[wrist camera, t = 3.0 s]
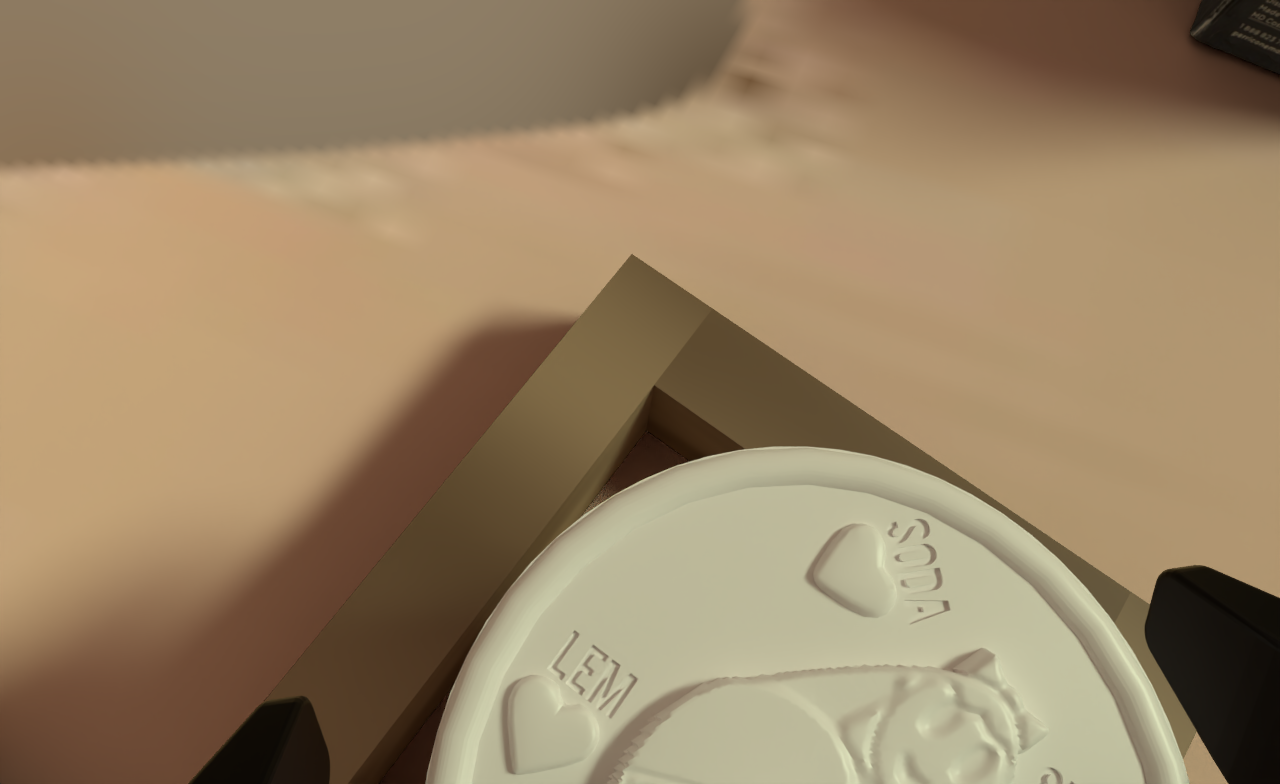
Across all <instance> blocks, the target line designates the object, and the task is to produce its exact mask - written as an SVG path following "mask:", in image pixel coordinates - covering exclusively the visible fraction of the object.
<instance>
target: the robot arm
mask: <svg viewBox="0 0 1280 784" xmlns="http://www.w3.org/2000/svg"><path fill="white" fill-rule="evenodd" d="M1144 632H1145V639H1146V642H1147V645H1148V648H1149V650H1150V652H1151V654H1152V655H1153V657H1154V659H1155V661H1156V662H1157V664H1158V666H1159V667H1160V669H1161V671H1162V673H1163V674H1164V676H1165V678H1166V679H1167V681H1168V683H1169V685H1170V686H1171V688H1172V690H1173V691H1174V693H1175V695H1176V697H1177V698H1178V700H1179V702H1180V703H1181V705H1182V707H1183V708H1184V710H1185V712H1186V714H1187V715H1188V717H1189V719H1190V720H1191V722H1192V724H1193V726H1194V727H1195V729H1196V731H1197V732H1198V734H1199V736H1200V738H1201V739H1202V741H1203V743H1204V744H1205V746H1206V748H1207V750H1208V751H1209V753H1210V755H1211V756H1212V758H1213V760H1214V761H1215V763H1216V765H1217V766H1218V768H1219V769H1220V771H1221V773H1222V774H1223V776H1224V777H1225V779H1226V781H1227V782H1228V784H1280V598H1278V597H1276V596H1274V595H1271V594H1269V593H1267V592H1265V591H1262V590H1260V589H1258V588H1255V587H1253V586H1251V585H1248V584H1246V583H1244V582H1242V581H1239V580H1237V579H1235V578H1232V577H1230V576H1228V575H1225V574H1223V573H1221V572H1218V571H1216V570H1214V569H1212V568H1209V567H1206V566H1202V565H1193V566H1186V567H1179V568H1172V569H1167V570H1165V571H1163V572H1162V573H1161V574H1160V575H1159V577H1158V579H1157V581H1156V585H1155V588H1154V592H1153V596H1152V599H1151V603H1150V607H1149V610H1148V614H1147V618H1146V621H1145V627H1144ZM329 781H330V757H329V752H328V748H327V745H326V742H325V740H324V737H323V734H322V731H321V728H320V725H319V723H318V720H317V717H316V714H315V711H314V708H313V706H312V703H311V702H310V700H309V699H308V698H307V697H305V696H301V695H299V696H292V697H285V698H278V699H272V700H268V701H265V702H263V703H262V704H261V705H259V706H258V707H257V708H256V709H255V710H254V712H253V713H252V714H251V715H250V716H249V717H248V718H247V719H246V720H245V722H244V723H243V724H242V725H241V726H240V727H239V728H238V729H237V730H236V731H235V733H234V734H233V735H232V736H231V737H230V738H229V739H228V740H227V741H226V743H225V744H224V745H223V746H222V747H221V748H220V749H219V750H218V751H217V752H216V754H215V755H214V756H213V757H212V758H211V759H210V760H209V761H208V762H207V764H206V765H205V766H204V767H203V768H202V769H201V770H200V771H199V772H198V773H197V775H196V776H195V777H194V778H193V779H192V780H191V781H190V782H189V783H188V784H329Z"/></svg>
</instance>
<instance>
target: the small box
mask: <svg viewBox="0 0 1280 784" xmlns="http://www.w3.org/2000/svg"><path fill="white" fill-rule="evenodd" d="M1190 34H1191V35H1192V36H1193V37H1194V38H1195V39H1196V40H1198V41H1200V42H1202V43H1205V44H1207V45H1210V46H1211V47H1213V48H1216V49H1220V50H1222V51H1224V52H1226V53H1231V54H1233V55H1235V56H1237V57H1239V58H1242V59H1244V60H1247V61H1249V62H1252V63H1254V64H1256V65H1258V66H1260V67H1263V68H1265V69H1268V70H1271V71H1273V72H1275V73H1278V74H1280V0H1202V2H1201V4H1200V7H1199V10H1198V13H1197V16H1196V19H1195V22H1194V24H1193V26H1192V28H1191V30H1190Z"/></svg>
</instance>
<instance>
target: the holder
mask: <svg viewBox="0 0 1280 784" xmlns="http://www.w3.org/2000/svg"><path fill="white" fill-rule="evenodd" d="M646 430H647V431H648V432H650V433H651V434H652V435H654V436H655V437H657V438H658V439H659V440H661V441H662V442H664V443H665V444H666V445H668V446H669V447H671V448H672V449H673V450H675V451H676V452H678V453H679V454H680V455H682V456H683V457H685V458H686V459H687V460H689V461H694V460H697V459H700V458H704V457H707V456H712V455H717V454H722V453H727V452H732V451H737V450H744V449H754V448H764V447H818V448H828V449H839V450H845V451H850V452H856V453H861V454H866V455H871V456H876V457H879V458H883V459H886V460H890V461H893V462H896V463H900V464H903V465H907V466H910V467H912V468H915V469H917V470H920V471H922V472H925V473H927V474H930V475H932V476H935V477H938V478H940V479H942V480H944V481H946V482H948V483H950V484H952V485H954V486H956V487H958V488H960V489H962V490H964V491H966V492H968V493H970V494H972V495H974V496H975V497H977V498H978V499H980V500H982V501H983V502H985V503H987V504H988V505H990V506H991V507H993V508H995V509H996V510H998V511H1000V512H1001V513H1003V514H1004V515H1005V516H1007V517H1008V518H1009V519H1011V520H1012V521H1013V522H1015V523H1016V524H1018V525H1019V526H1020V527H1022V528H1023V529H1024V530H1026V531H1027V532H1028V533H1030V534H1031V535H1032V536H1033V537H1034V538H1036V539H1037V540H1038V541H1039V542H1040V543H1041V544H1042V545H1044V546H1045V547H1046V548H1047V549H1048V550H1049V551H1050V552H1051V553H1053V554H1054V555H1055V556H1056V557H1057V558H1058V559H1059V560H1060V561H1061V562H1062V563H1063V564H1064V565H1065V566H1066V567H1067V568H1068V569H1069V570H1070V571H1071V572H1072V573H1073V574H1074V575H1075V576H1076V577H1077V578H1078V580H1079V581H1080V582H1081V583H1082V584H1083V585H1084V586H1085V587H1086V588H1087V589H1088V591H1089V592H1090V593H1091V594H1092V596H1093V597H1094V598H1095V599H1096V600H1097V602H1098V603H1099V604H1100V605H1101V607H1102V608H1103V609H1104V610H1105V612H1106V613H1107V614H1108V615H1109V616H1110V618H1111V619H1112V621H1113V622H1114V624H1115V625H1116V627H1117V628H1118V630H1119V631H1120V633H1121V634H1122V636H1123V637H1124V638H1125V640H1126V641H1127V643H1128V644H1129V646H1130V647H1131V649H1132V650H1133V652H1134V654H1135V656H1136V657H1137V659H1138V661H1139V663H1140V665H1141V666H1142V668H1143V670H1144V672H1145V673H1146V675H1147V677H1148V679H1149V680H1150V682H1151V684H1152V686H1153V688H1154V690H1155V692H1156V695H1157V697H1158V699H1159V701H1160V703H1161V705H1162V708H1163V710H1164V712H1165V714H1166V716H1167V718H1168V720H1169V723H1170V726H1171V728H1172V731H1173V734H1174V737H1175V739H1176V742H1177V745H1178V747H1179V750H1180V753H1181V756H1182V758H1183V759H1184V757H1185V755H1186V752H1187V750H1188V748H1189V746H1190V744H1191V742H1192V740H1193V738H1194V736H1195V733H1196V729H1195V727H1194V726H1193V724H1192V722H1191V720H1190V719H1189V717H1188V715H1187V714H1186V712H1185V710H1184V708H1183V707H1182V705H1181V703H1180V702H1179V700H1178V698H1177V697H1176V695H1175V693H1174V691H1173V690H1172V688H1171V686H1170V685H1169V683H1168V681H1167V679H1166V678H1165V676H1164V674H1163V673H1162V671H1161V669H1160V667H1159V666H1158V664H1157V662H1156V661H1155V659H1154V657H1153V655H1152V654H1151V652H1150V650H1149V648H1148V645H1147V642H1146V639H1145V632H1144V627H1145V621H1146V618H1147V614H1148V610H1149V607H1150V605H1149V604H1148V603H1146V602H1145V601H1144V600H1142V599H1141V598H1139V597H1138V596H1136V595H1135V594H1133V593H1132V592H1130V591H1129V590H1127V589H1126V588H1124V587H1123V586H1121V585H1120V584H1118V583H1117V582H1115V581H1114V580H1112V579H1111V578H1110V577H1108V576H1107V575H1105V574H1104V573H1102V572H1101V571H1099V570H1098V569H1096V568H1095V567H1093V566H1092V565H1090V564H1089V563H1087V562H1086V561H1084V560H1083V559H1081V558H1080V557H1079V556H1077V555H1076V554H1074V553H1073V552H1071V551H1070V550H1068V549H1067V548H1065V547H1064V546H1062V545H1061V544H1059V543H1058V542H1056V541H1055V540H1053V539H1052V538H1050V537H1049V536H1048V535H1046V534H1045V533H1043V532H1042V531H1040V530H1039V529H1037V528H1036V527H1034V526H1033V525H1031V524H1030V523H1028V522H1027V521H1025V520H1024V519H1022V518H1021V517H1019V516H1018V515H1017V514H1015V513H1014V512H1012V511H1011V510H1009V509H1008V508H1006V507H1005V506H1003V505H1002V504H1000V503H999V502H997V501H996V500H994V499H993V498H991V497H990V496H988V495H987V494H985V493H984V492H983V491H981V490H980V489H978V488H977V487H975V486H974V485H972V484H971V483H969V482H968V481H966V480H965V479H963V478H962V477H960V476H959V475H957V474H956V473H954V472H953V471H952V470H950V469H949V468H947V467H946V466H944V465H943V464H941V463H940V462H938V461H937V460H935V459H934V458H932V457H931V456H929V455H928V454H926V453H925V452H923V451H922V450H921V449H919V448H918V447H916V446H915V445H913V444H912V443H910V442H909V441H907V440H906V439H904V438H903V437H901V436H900V435H898V434H897V433H895V432H894V431H892V430H891V429H890V428H888V427H887V426H885V425H884V424H882V423H881V422H879V421H878V420H876V419H875V418H873V417H872V416H870V415H869V414H867V413H866V412H864V411H863V410H861V409H860V408H858V407H857V406H856V405H854V404H853V403H851V402H850V401H848V400H847V399H845V398H844V397H842V396H841V395H839V394H838V393H836V392H835V391H833V390H832V389H830V388H829V387H827V386H826V385H825V384H823V383H822V382H820V381H819V380H817V379H816V378H814V377H813V376H811V375H810V374H808V373H807V372H805V371H804V370H802V369H801V368H799V367H798V366H796V365H795V364H794V363H792V362H791V361H789V360H788V359H786V358H785V357H783V356H782V355H780V354H779V353H777V352H776V351H774V350H773V349H771V348H770V347H768V346H767V345H765V344H764V343H763V342H761V341H760V340H758V339H757V338H755V337H754V336H752V335H751V334H749V333H748V332H746V331H745V330H743V329H742V328H740V327H739V326H737V325H736V324H734V323H733V322H731V321H730V320H729V319H727V318H726V317H724V316H723V315H721V314H720V313H718V312H717V311H715V310H714V309H712V308H711V307H709V306H708V305H706V304H705V303H703V302H702V301H700V300H699V299H698V298H696V297H695V296H693V295H692V294H690V293H689V292H687V291H686V290H684V289H683V288H681V287H680V286H678V285H677V284H675V283H674V282H672V281H671V280H669V279H668V278H667V277H665V276H664V275H662V274H661V273H659V272H658V271H656V270H655V269H653V268H652V267H650V266H649V265H647V264H646V263H644V262H643V261H641V260H640V259H638V258H637V257H635V256H634V255H633V254H631V256H630V257H629V258H628V259H627V261H626V262H625V263H624V264H623V265H622V267H621V268H620V269H619V270H618V271H617V273H616V274H615V275H614V276H613V278H612V279H611V280H610V281H609V282H608V284H607V285H606V286H605V287H604V288H603V290H602V291H601V292H600V293H599V295H598V296H597V297H596V298H595V299H594V301H593V302H592V303H591V304H590V306H589V307H588V308H587V309H586V310H585V312H584V313H583V314H582V315H581V316H580V318H579V319H578V320H577V321H576V323H575V324H574V325H573V326H572V327H571V329H570V330H569V331H568V332H567V333H566V335H565V336H564V337H563V338H562V340H561V341H560V342H559V343H558V344H557V346H556V347H555V348H554V349H553V350H552V352H551V353H550V354H549V355H548V357H547V358H546V359H545V360H544V361H543V363H542V364H541V365H540V366H539V368H538V369H537V370H536V371H535V372H534V374H533V375H532V376H531V377H530V378H529V380H528V381H527V382H526V383H525V385H524V386H523V387H522V388H521V389H520V391H519V392H518V393H517V394H516V395H515V397H514V398H513V399H512V400H511V402H510V403H509V404H508V405H507V406H506V408H505V409H504V410H503V411H502V413H501V414H500V415H499V416H498V417H497V419H496V420H495V421H494V422H493V423H492V425H491V426H490V427H489V428H488V430H487V431H486V432H485V433H484V434H483V436H482V437H481V438H480V439H479V440H478V442H477V443H476V444H475V445H474V447H473V448H472V449H471V450H470V451H469V453H468V454H467V455H466V456H465V457H464V459H463V460H462V461H461V462H460V464H459V465H458V466H457V467H456V468H455V470H454V471H453V472H452V473H451V475H450V476H449V477H448V478H447V479H446V481H445V482H444V483H443V484H442V485H441V487H440V488H439V489H438V490H437V492H436V493H435V494H434V495H433V496H432V498H431V499H430V500H429V501H428V502H427V504H426V505H425V506H424V507H423V509H422V510H421V511H420V512H419V513H418V515H417V516H416V517H415V518H414V520H413V521H412V522H411V523H410V524H409V526H408V527H407V528H406V529H405V530H404V532H403V533H402V534H401V535H400V537H399V538H398V539H397V540H396V541H395V543H394V544H393V545H392V546H391V547H390V549H389V550H388V551H387V552H386V554H385V555H384V556H383V557H382V558H381V560H380V561H379V562H378V563H377V564H376V566H375V567H374V568H373V569H372V571H371V572H370V573H369V574H368V575H367V577H366V578H365V579H364V580H363V582H362V583H361V584H360V585H359V586H358V588H357V589H356V590H355V591H354V592H353V594H352V595H351V596H350V597H349V599H348V600H347V601H346V602H345V603H344V605H343V606H342V607H341V608H340V609H339V611H338V612H337V613H336V614H335V616H334V617H333V618H332V619H331V620H330V622H329V623H328V624H327V625H326V627H325V628H324V629H323V630H322V631H321V633H320V634H319V635H318V636H317V637H316V639H315V640H314V641H313V642H312V644H311V645H310V646H309V647H308V648H307V650H306V651H305V652H304V653H303V654H302V656H301V657H300V658H299V659H298V661H297V662H296V663H295V664H294V665H293V667H292V668H291V669H290V670H289V671H288V673H287V674H286V675H285V676H284V678H283V679H282V680H281V681H280V682H279V684H278V685H277V686H276V687H275V689H274V690H273V691H272V692H271V693H270V695H269V696H268V697H267V698H266V699H265V701H268V700H272V699H278V698H285V697H292V696H299V695H301V696H305V697H307V698H308V699H309V700H310V702H311V703H312V706H313V708H314V711H315V714H316V717H317V720H318V723H319V725H320V728H321V731H322V734H323V737H324V740H325V742H326V745H327V748H328V752H329V757H330V781H329V784H379V782H380V781H381V780H382V778H383V777H384V776H385V774H386V773H387V772H388V771H389V769H390V768H391V767H392V765H393V764H394V763H395V761H396V760H397V759H398V757H399V756H400V755H401V753H402V752H403V751H404V749H405V748H406V747H407V745H408V744H409V743H410V741H411V740H412V739H413V738H414V736H415V735H416V734H417V732H418V731H419V730H420V728H421V727H422V726H423V724H424V723H425V722H426V720H427V719H428V718H429V716H430V715H431V714H432V712H433V711H434V710H435V708H436V707H437V706H438V705H439V703H440V702H441V701H442V699H443V698H444V697H445V695H446V694H447V693H448V691H449V690H450V689H451V687H452V686H453V685H454V683H455V681H456V679H457V677H458V674H459V672H460V670H461V668H462V665H463V663H464V661H465V659H466V657H467V655H468V653H469V651H470V649H471V647H472V646H473V644H474V642H475V640H476V639H477V637H478V635H479V633H480V631H481V630H482V628H483V626H484V624H485V622H486V621H487V619H488V618H489V617H490V615H491V614H492V612H493V611H494V609H495V608H496V606H497V605H498V604H499V602H500V601H501V599H502V598H503V596H504V595H505V593H506V592H507V591H508V589H509V588H510V587H511V586H512V585H513V583H514V582H515V581H516V580H517V579H518V577H519V576H520V575H521V574H522V573H523V571H524V570H525V569H526V568H527V567H528V565H529V564H530V563H531V562H532V561H533V560H534V559H535V558H536V557H537V556H538V555H539V554H540V553H541V552H542V551H543V550H544V549H545V548H546V547H547V546H548V545H549V544H550V543H551V542H552V541H553V540H554V539H555V538H556V537H557V536H559V535H560V534H561V533H562V532H564V531H565V530H566V529H567V528H568V527H570V526H571V525H572V524H573V523H575V522H576V521H577V520H578V519H579V518H580V517H581V516H582V514H583V513H584V512H585V510H586V509H587V508H588V506H589V505H590V504H591V503H592V501H593V500H594V499H595V497H596V496H597V495H598V493H599V492H600V491H601V489H602V488H603V487H604V485H605V484H606V483H607V481H608V480H609V479H610V477H611V476H612V475H613V473H614V472H615V471H616V470H617V468H618V467H619V466H620V464H621V463H622V462H623V460H624V459H625V458H626V456H627V455H628V454H629V452H630V451H631V450H632V448H633V447H634V446H635V444H636V443H637V442H638V440H639V439H640V438H641V437H642V435H643V434H644V433H645V431H646ZM265 701H264V702H265Z"/></svg>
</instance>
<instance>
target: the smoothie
mask: <svg viewBox="0 0 1280 784" xmlns="http://www.w3.org/2000/svg"><path fill="white" fill-rule="evenodd" d="M426 784H1190V783H1189V779H1188V776H1187V772H1186V769H1185V765H1184V761H1183V758H1182V756H1181V753H1180V750H1179V747H1178V745H1177V742H1176V739H1175V737H1174V734H1173V731H1172V728H1171V726H1170V723H1169V720H1168V718H1167V716H1166V714H1165V712H1164V710H1163V708H1162V705H1161V703H1160V701H1159V699H1158V697H1157V695H1156V692H1155V690H1154V688H1153V686H1152V684H1151V682H1150V680H1149V679H1148V677H1147V675H1146V673H1145V672H1144V670H1143V668H1142V666H1141V665H1140V663H1139V661H1138V659H1137V657H1136V656H1135V654H1134V652H1133V650H1132V649H1131V647H1130V646H1129V644H1128V643H1127V641H1126V640H1125V638H1124V637H1123V636H1122V634H1121V633H1120V631H1119V630H1118V628H1117V627H1116V625H1115V624H1114V622H1113V621H1112V619H1111V618H1110V616H1109V615H1108V614H1107V613H1106V612H1105V610H1104V609H1103V608H1102V607H1101V605H1100V604H1099V603H1098V602H1097V600H1096V599H1095V598H1094V597H1093V596H1092V594H1091V593H1090V592H1089V591H1088V589H1087V588H1086V587H1085V586H1084V585H1083V584H1082V583H1081V582H1080V581H1079V580H1078V578H1077V577H1076V576H1075V575H1074V574H1073V573H1072V572H1071V571H1070V570H1069V569H1068V568H1067V567H1066V566H1065V565H1064V564H1063V563H1062V562H1061V561H1060V560H1059V559H1058V558H1057V557H1056V556H1055V555H1054V554H1053V553H1051V552H1050V551H1049V550H1048V549H1047V548H1046V547H1045V546H1044V545H1042V544H1041V543H1040V542H1039V541H1038V540H1037V539H1036V538H1034V537H1033V536H1032V535H1031V534H1030V533H1028V532H1027V531H1026V530H1024V529H1023V528H1022V527H1020V526H1019V525H1018V524H1016V523H1015V522H1013V521H1012V520H1011V519H1009V518H1008V517H1007V516H1005V515H1004V514H1003V513H1001V512H1000V511H998V510H996V509H995V508H993V507H991V506H990V505H988V504H987V503H985V502H983V501H982V500H980V499H978V498H977V497H975V496H974V495H972V494H970V493H968V492H966V491H964V490H962V489H960V488H958V487H956V486H954V485H952V484H950V483H948V482H946V481H944V480H942V479H940V478H938V477H935V476H932V475H930V474H927V473H925V472H922V471H920V470H917V469H915V468H912V467H910V466H907V465H903V464H900V463H896V462H893V461H890V460H886V459H883V458H879V457H876V456H871V455H866V454H861V453H856V452H850V451H845V450H839V449H828V448H818V447H764V448H754V449H744V450H737V451H732V452H727V453H722V454H717V455H712V456H707V457H704V458H700V459H697V460H694V461H690V462H687V463H684V464H680V465H677V466H674V467H672V468H669V469H667V470H665V471H662V472H660V473H657V474H655V475H652V476H650V477H648V478H645V479H643V480H641V481H639V482H637V483H635V484H634V485H632V486H630V487H628V488H626V489H624V490H622V491H620V492H619V493H617V494H615V495H613V496H612V497H610V498H608V499H607V500H605V501H604V502H602V503H601V504H599V505H598V506H596V507H595V508H593V509H592V510H590V511H589V512H587V513H586V514H584V515H583V516H582V517H581V518H579V519H578V520H577V521H576V522H575V523H573V524H572V525H571V526H570V527H568V528H567V529H566V530H565V531H564V532H562V533H561V534H560V535H559V536H557V537H556V538H555V539H554V540H553V541H552V542H551V543H550V544H549V545H548V546H547V547H546V548H545V549H544V550H543V551H542V552H541V553H540V554H539V555H538V556H537V557H536V558H535V559H534V560H533V561H532V562H531V563H530V564H529V565H528V567H527V568H526V569H525V570H524V571H523V573H522V574H521V575H520V576H519V577H518V579H517V580H516V581H515V582H514V583H513V585H512V586H511V587H510V588H509V589H508V591H507V592H506V593H505V595H504V596H503V598H502V599H501V601H500V602H499V604H498V605H497V606H496V608H495V609H494V611H493V612H492V614H491V615H490V617H489V618H488V619H487V621H486V622H485V624H484V626H483V628H482V630H481V631H480V633H479V635H478V637H477V639H476V640H475V642H474V644H473V646H472V647H471V649H470V651H469V653H468V655H467V657H466V659H465V661H464V663H463V665H462V668H461V670H460V672H459V674H458V677H457V679H456V681H455V683H454V686H453V688H452V690H451V692H450V695H449V698H448V701H447V704H446V707H445V710H444V713H443V716H442V719H441V722H440V725H439V728H438V730H437V734H436V738H435V743H434V747H433V751H432V755H431V759H430V763H429V767H428V771H427V777H426Z"/></svg>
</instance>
